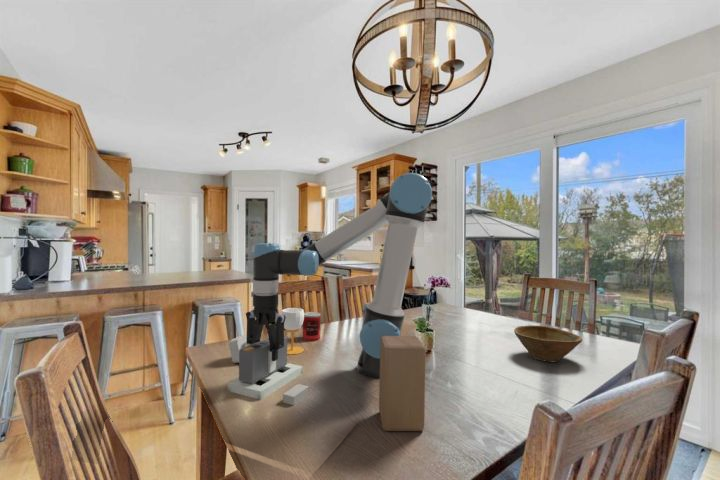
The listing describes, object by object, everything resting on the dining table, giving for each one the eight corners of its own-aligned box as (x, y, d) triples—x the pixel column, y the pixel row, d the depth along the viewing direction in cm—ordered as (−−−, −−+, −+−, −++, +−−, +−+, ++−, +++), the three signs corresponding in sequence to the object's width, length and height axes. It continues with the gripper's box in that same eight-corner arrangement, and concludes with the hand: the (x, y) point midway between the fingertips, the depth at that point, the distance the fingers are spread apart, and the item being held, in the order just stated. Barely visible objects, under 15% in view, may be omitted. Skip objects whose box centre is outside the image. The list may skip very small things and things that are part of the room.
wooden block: (416, 410, 89) (417, 334, 88) (425, 432, 79) (426, 347, 78) (378, 410, 88) (379, 334, 88) (382, 432, 78) (383, 347, 78)
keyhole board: (302, 375, 110) (302, 366, 110) (260, 402, 92) (260, 391, 91) (272, 368, 115) (273, 360, 115) (227, 393, 96) (227, 383, 96)
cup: (275, 353, 130) (276, 311, 130) (288, 345, 139) (288, 307, 139) (296, 356, 127) (297, 313, 127) (307, 348, 136) (308, 308, 136)
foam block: (308, 396, 95) (308, 386, 95) (293, 408, 89) (294, 396, 89) (297, 394, 97) (298, 383, 97) (282, 405, 90) (282, 394, 90)
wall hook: (260, 365, 116) (254, 336, 117) (234, 369, 118) (228, 341, 119) (271, 357, 124) (265, 330, 125) (246, 361, 126) (240, 335, 127)
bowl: (590, 373, 115) (590, 344, 115) (516, 364, 123) (517, 337, 123) (572, 353, 136) (573, 328, 136) (510, 346, 143) (511, 322, 143)
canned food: (311, 334, 155) (312, 310, 155) (323, 338, 150) (324, 313, 150) (298, 338, 149) (299, 313, 149) (311, 342, 144) (311, 316, 144)
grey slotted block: (286, 371, 110) (287, 336, 110) (252, 391, 95) (253, 351, 95) (274, 368, 112) (274, 334, 112) (238, 388, 97) (239, 348, 97)
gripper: (297, 294, 103) (296, 370, 103) (251, 289, 110) (250, 360, 111) (282, 298, 96) (280, 379, 96) (234, 292, 103) (232, 368, 104)
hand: (264, 369), depth 103 cm, fingers closed on grey slotted block, 5 cm apart
